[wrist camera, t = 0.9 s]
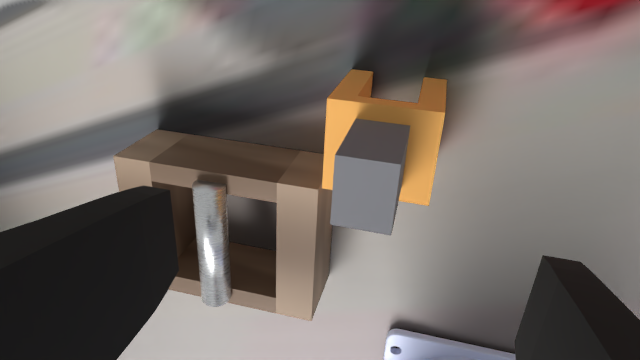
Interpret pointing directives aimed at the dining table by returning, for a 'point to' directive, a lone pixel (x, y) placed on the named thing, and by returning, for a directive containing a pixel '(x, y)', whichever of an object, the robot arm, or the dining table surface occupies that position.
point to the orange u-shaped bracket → (379, 151)
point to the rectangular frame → (212, 219)
